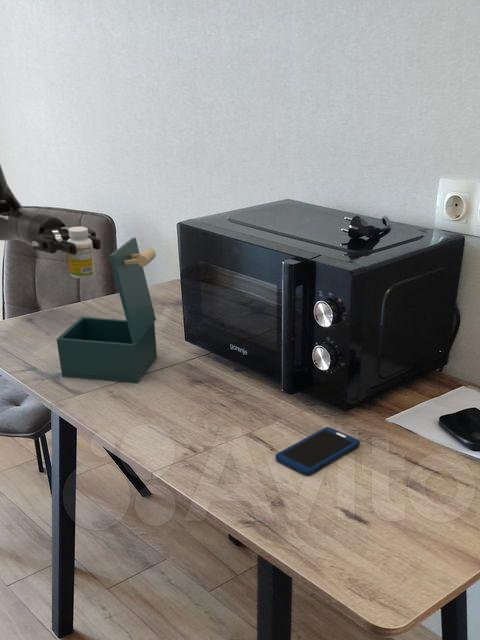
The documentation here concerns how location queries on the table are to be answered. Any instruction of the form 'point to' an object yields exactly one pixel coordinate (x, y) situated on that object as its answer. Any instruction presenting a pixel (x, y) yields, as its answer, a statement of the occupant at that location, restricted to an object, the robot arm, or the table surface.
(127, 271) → the green box lid
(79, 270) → the supplement bottle
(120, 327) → the dark green rectangular box
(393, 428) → the table surface
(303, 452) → the cell phone
